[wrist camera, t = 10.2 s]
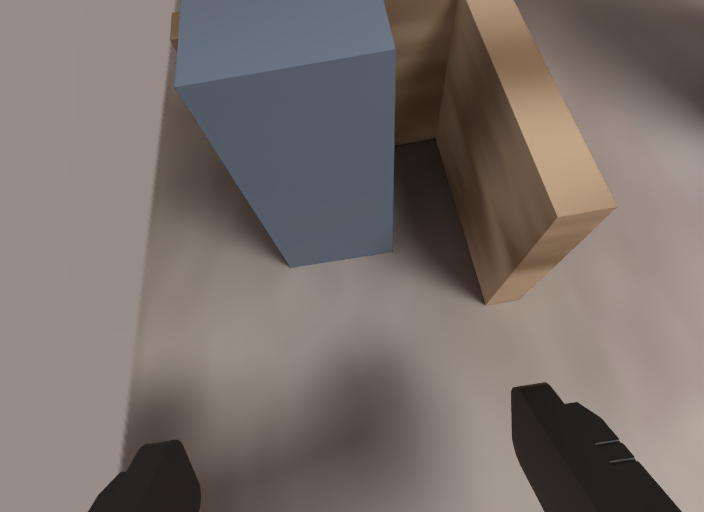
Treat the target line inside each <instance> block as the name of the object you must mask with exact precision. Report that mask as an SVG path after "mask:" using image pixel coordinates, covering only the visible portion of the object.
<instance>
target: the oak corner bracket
mask: <svg viewBox="0 0 704 512" xmlns="http://www.w3.org/2000/svg"><path fill="white" fill-rule="evenodd" d="M383 1H384V5H385V9H386V13H387V17H388V21H389V25H390V29H391V32H392V36H393V40H394V44H395V48H396V65H395V129H394V146H396V145H401V144H407V143H412V142H418V141H423V140H429V139H434V138H436V142H437V145H438V148H439V151H440V155H441V158H442V161H443V165H444V168H445V171H446V175H447V178H448V181H449V185H450V188H451V191H452V195H453V198H454V201H455V205H456V208H457V211H458V214H459V218H460V221H461V224H462V228H463V231H464V234H465V238H466V241H467V244H468V248H469V251H470V254H471V258H472V261H473V264H474V268H475V271H476V274H477V278H478V281H479V284H480V287H481V291H482V294H483V297H484V301H485V304H486V305H491V304H497V303H502V302H508V301H514V300H520V299H521V298H522V297H523V296H524V295H525V294H526V293H527V292H528V291H529V290H530V289H531V288H532V287H533V286H534V285H535V284H537V283H538V282H539V281H540V280H541V279H542V278H543V277H544V276H545V275H546V274H547V273H548V272H549V271H550V270H551V269H552V268H553V267H554V266H556V265H557V264H558V263H559V262H560V261H561V260H562V259H563V258H564V257H565V256H566V255H567V254H568V253H569V252H570V251H571V250H572V249H573V248H574V247H576V246H577V245H578V244H579V243H580V242H581V241H582V240H583V239H584V238H585V237H586V236H587V235H588V234H589V233H590V232H591V231H592V230H593V229H594V228H596V227H597V226H598V225H599V224H600V223H601V222H602V221H603V220H604V219H605V218H606V217H607V216H608V215H609V214H610V213H611V212H612V211H613V210H614V209H616V208H617V206H616V204H615V202H614V200H613V198H612V196H611V194H610V192H609V190H608V188H607V186H606V184H605V182H604V180H603V178H602V176H601V174H600V172H599V170H598V168H597V166H596V164H595V162H594V160H593V158H592V156H591V154H590V152H589V150H588V148H587V146H586V144H585V142H584V140H583V138H582V136H581V134H580V132H579V130H578V128H577V126H576V124H575V122H574V120H573V118H572V116H571V114H570V112H569V110H568V108H567V106H566V104H565V102H564V100H563V98H562V96H561V94H560V92H559V90H558V88H557V86H556V84H555V82H554V80H553V78H552V76H551V74H550V72H549V70H548V68H547V66H546V64H545V62H544V60H543V58H542V56H541V54H540V52H539V50H538V48H537V46H536V44H535V42H534V40H533V38H532V36H531V34H530V32H529V30H528V28H527V26H526V24H525V22H524V20H523V18H522V16H521V14H520V12H519V10H518V8H517V6H516V4H515V2H514V0H383ZM179 22H180V12H175V13H172V21H171V36H170V41H171V42H172V44H173V46H174V48H175V49H176V51H177V47H178V35H179Z"/></svg>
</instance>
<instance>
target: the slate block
mask: <svg viewBox="0 0 704 512" xmlns="http://www.w3.org/2000/svg"><path fill="white" fill-rule="evenodd" d="M395 65H396V48H395V44H394V40H393V36H392V32H391V29H390V25H389V21H388V17H387V13H386V9H385V5H384V1H383V0H181V10H180V22H179V35H178V47H177V60H176V72H175V85H174V88H175V89H176V91H177V92H178V94H179V95H180V97H181V98H182V100H183V102H184V103H185V105H186V106H187V108H188V109H189V111H190V112H191V114H192V116H193V117H194V119H195V120H196V122H197V123H198V125H199V126H200V128H201V130H202V131H203V133H204V134H205V136H206V137H207V139H208V140H209V142H210V144H211V145H212V147H213V148H214V150H215V151H216V153H217V154H218V156H219V158H220V159H221V161H222V162H223V164H224V165H225V167H226V168H227V170H228V171H229V173H230V175H231V176H232V178H233V179H234V181H235V182H236V184H237V185H238V187H239V189H240V190H241V192H242V193H243V195H244V196H245V198H246V199H247V201H248V203H249V204H250V206H251V207H252V209H253V210H254V212H255V213H256V215H257V217H258V218H259V220H260V221H261V223H262V224H263V226H264V227H265V229H266V231H267V232H268V234H269V235H270V237H271V238H272V240H273V241H274V243H275V245H276V246H277V248H278V249H279V251H280V252H281V254H282V255H283V257H284V259H285V260H286V262H287V263H288V265H289V266H290V268H292V267H299V266H305V265H311V264H318V263H324V262H331V261H337V260H344V259H350V258H356V257H363V256H369V255H376V254H382V253H389V252H393V192H394V129H395Z"/></svg>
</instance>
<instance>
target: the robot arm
mask: <svg viewBox="0 0 704 512" xmlns="http://www.w3.org/2000/svg"><path fill="white" fill-rule="evenodd" d="M511 412H512V440H513V445H514V449H515V452H516V455H517V458H518V461H519V463H520V465H521V467H522V469H523V471H524V473H525V475H526V477H527V479H528V481H529V483H530V485H531V487H532V488H533V490H534V492H535V494H536V496H537V498H538V500H539V502H540V504H541V506H542V508H543V510H544V512H681V510H680V509H679V508H678V507H677V506H676V505H675V503H674V502H673V501H672V500H671V499H670V498H669V496H668V495H667V494H666V493H665V492H664V491H663V489H662V488H661V487H660V486H659V485H658V484H657V482H656V481H655V480H654V479H653V478H652V477H651V476H650V474H649V473H648V472H647V471H646V470H645V469H644V467H643V466H642V465H641V464H640V463H639V462H638V461H636V460H635V458H634V456H633V455H632V453H631V452H630V451H629V450H628V449H627V448H626V446H625V445H624V444H623V443H620V441H619V438H618V437H617V436H616V435H615V434H614V432H613V431H612V430H611V429H610V428H609V427H608V425H607V424H606V423H605V422H604V421H603V420H602V418H600V417H599V416H597V415H596V414H594V413H593V412H591V411H590V410H588V409H587V408H585V407H584V406H582V405H581V404H579V403H578V402H575V403H568V404H564V403H563V401H562V400H561V399H560V398H559V396H558V395H557V394H556V392H555V391H554V390H553V389H552V387H551V386H550V385H549V384H547V383H545V382H544V383H538V384H531V385H525V386H519V387H513V388H512V391H511ZM200 501H201V491H200V485H199V482H198V480H197V477H196V475H195V473H194V470H193V468H192V466H191V463H190V461H189V459H188V456H187V454H186V452H185V449H184V447H183V445H182V443H181V442H180V441H179V440H170V441H164V442H158V443H151V444H146V445H144V446H142V447H141V448H140V449H139V451H138V452H137V454H136V456H135V458H134V459H133V461H132V463H131V464H130V466H129V468H128V470H127V471H126V472H120V473H119V474H118V475H117V476H116V477H115V478H114V479H113V481H112V482H110V483H109V485H108V486H107V487H106V488H105V489H104V490H103V491H102V492H101V493H100V494H99V495H98V497H97V498H96V500H95V501H94V503H93V505H92V506H91V508H90V510H89V511H88V512H199V508H200Z"/></svg>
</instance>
